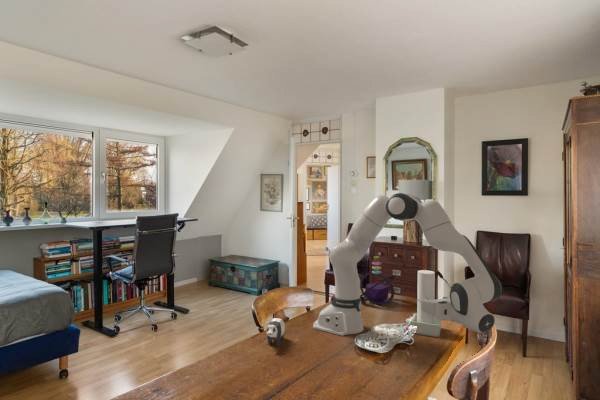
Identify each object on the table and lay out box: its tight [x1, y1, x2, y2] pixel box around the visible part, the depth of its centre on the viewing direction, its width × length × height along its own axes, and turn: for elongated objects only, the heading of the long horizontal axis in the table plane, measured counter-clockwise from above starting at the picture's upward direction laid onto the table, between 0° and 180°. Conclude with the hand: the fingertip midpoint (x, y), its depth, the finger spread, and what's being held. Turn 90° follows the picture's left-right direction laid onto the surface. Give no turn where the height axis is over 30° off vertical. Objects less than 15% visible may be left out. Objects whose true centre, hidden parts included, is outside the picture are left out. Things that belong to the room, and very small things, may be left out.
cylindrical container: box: [416, 269, 436, 324], centre depth 161 cm, size 7×7×25 cm
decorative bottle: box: [360, 255, 396, 306], centre depth 203 cm, size 22×21×25 cm
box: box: [409, 312, 442, 338], centre depth 162 cm, size 12×12×5 cm
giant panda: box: [266, 317, 286, 347], centre depth 148 cm, size 15×6×10 cm, turn 169°
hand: (434, 299), depth 156 cm, fingers open, 8 cm apart
